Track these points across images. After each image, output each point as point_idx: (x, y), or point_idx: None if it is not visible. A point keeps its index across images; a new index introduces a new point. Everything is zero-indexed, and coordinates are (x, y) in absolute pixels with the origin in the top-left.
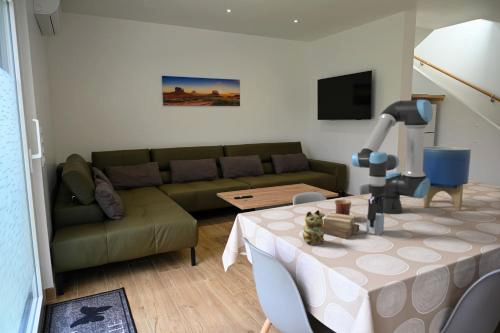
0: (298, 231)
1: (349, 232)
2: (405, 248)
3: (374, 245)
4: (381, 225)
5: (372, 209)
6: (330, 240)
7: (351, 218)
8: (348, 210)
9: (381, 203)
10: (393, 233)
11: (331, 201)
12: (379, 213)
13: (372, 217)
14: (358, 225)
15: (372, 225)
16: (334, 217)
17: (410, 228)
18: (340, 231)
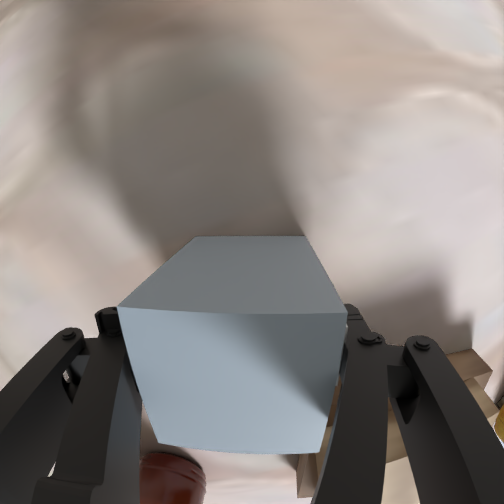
0: None
1: (459, 372)
2: (422, 23)
3: (494, 190)
4: (240, 256)
5: (490, 452)
6: (494, 377)
7: (405, 461)
8: (156, 498)
9: (57, 501)
10: (170, 159)
11: None
12: (142, 371)
13: (446, 360)
14: (333, 404)
15: (359, 315)
16: (416, 493)
17: (19, 136)
18: None
